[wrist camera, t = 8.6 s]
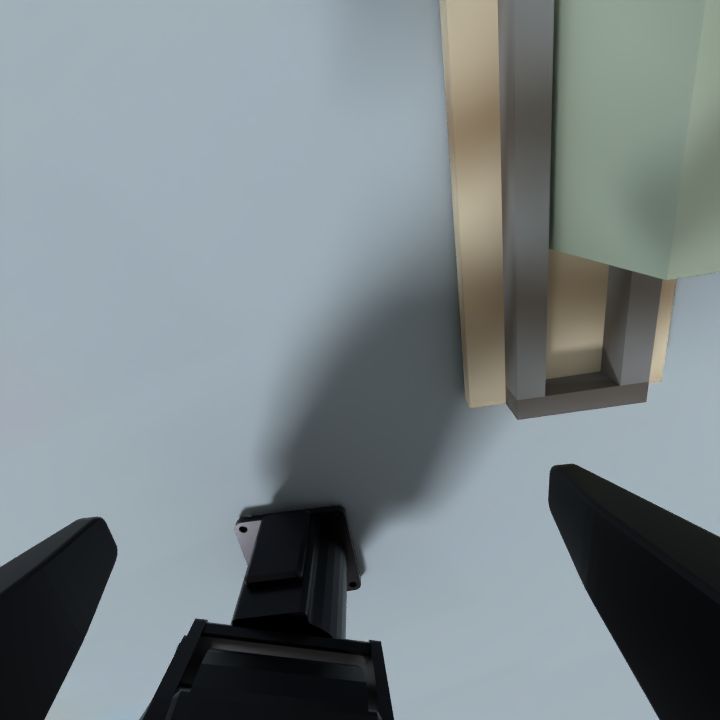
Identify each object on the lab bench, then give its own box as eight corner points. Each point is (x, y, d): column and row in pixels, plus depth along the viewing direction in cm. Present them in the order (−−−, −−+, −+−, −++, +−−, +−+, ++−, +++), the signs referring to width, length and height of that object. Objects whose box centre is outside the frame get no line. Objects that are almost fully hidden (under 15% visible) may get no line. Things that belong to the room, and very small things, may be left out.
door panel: (597, 238, 16) (759, 265, 10) (543, 246, 16) (666, 279, 10) (615, -10, 13) (868, -214, 7) (548, 2, 13) (731, -184, 7)
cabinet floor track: (647, 372, 20) (686, 396, 17) (465, 398, 20) (479, 425, 18) (738, -324, 11) (838, -460, 9) (423, -250, 12) (439, -361, 9)
